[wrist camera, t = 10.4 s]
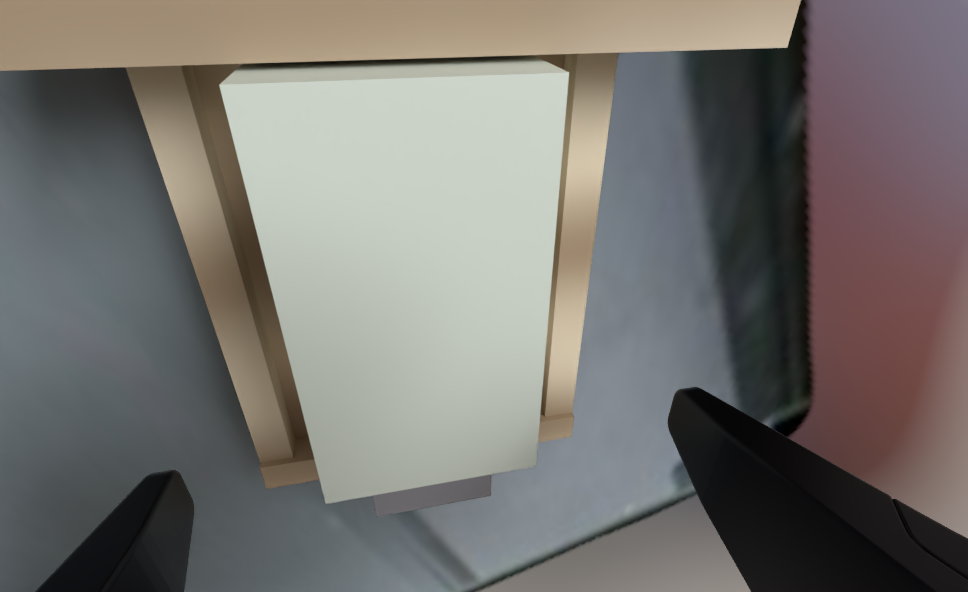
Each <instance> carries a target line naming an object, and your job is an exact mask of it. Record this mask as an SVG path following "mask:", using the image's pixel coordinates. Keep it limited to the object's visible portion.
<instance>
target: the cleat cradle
mask: <svg viewBox="0 0 968 592" xmlns="http://www.w3.org/2000/svg"><path fill="white" fill-rule="evenodd" d="M800 1H801V0H0V71H12V70H46V69H80V68H113V67H125V68H126V70H127V73H128V76H129V79H130V82H131V85H132V88H133V91H134V94H135V97H136V100H137V103H138V106H139V109H140V111H141V114H142V117H143V120H144V123H145V126H146V129H147V132H148V135H149V138H150V141H151V144H152V147H153V150H154V153H155V155H156V158H157V161H158V164H159V167H160V170H161V173H162V176H163V179H164V182H165V185H166V188H167V191H168V194H169V197H170V199H171V202H172V205H173V208H174V211H175V214H176V217H177V220H178V223H179V226H180V229H181V232H182V235H183V238H184V240H185V243H186V246H187V249H188V252H189V255H190V258H191V261H192V264H193V267H194V270H195V273H196V276H197V279H198V282H199V284H200V287H201V290H202V293H203V296H204V299H205V302H206V305H207V308H208V311H209V314H210V317H211V320H212V323H213V325H214V328H215V331H216V334H217V337H218V340H219V343H220V346H221V349H222V352H223V355H224V358H225V361H226V364H227V367H228V369H229V372H230V375H231V378H232V381H233V384H234V387H235V390H236V393H237V396H238V399H239V402H240V405H241V408H242V411H243V413H244V416H245V419H246V422H247V425H248V428H249V431H250V434H251V437H252V440H253V443H254V446H255V449H256V452H257V454H258V457H259V460H260V471H261V474H262V477H263V480H264V483H265V485H266V488H267V489H269V488H274V487H280V486H286V485H292V484H298V483H304V482H309V481H315V480H320V479H319V475H318V471H317V467H316V463H315V459H314V455H313V452H312V448H311V444H310V440H309V436H308V432H307V428H306V424H305V420H304V416H303V412H302V408H301V404H300V400H299V397H298V393H297V389H296V385H295V381H294V377H293V373H292V369H291V365H290V361H289V357H288V353H287V349H286V346H285V342H284V338H283V334H282V330H281V326H280V322H279V318H278V314H277V310H276V306H275V302H274V298H273V294H272V291H271V287H270V283H269V279H268V275H267V271H266V267H265V263H264V259H263V255H262V251H261V247H260V243H259V239H258V236H257V232H256V228H255V224H254V220H253V216H252V212H251V208H250V204H249V200H248V196H247V192H246V188H245V184H244V181H243V177H242V173H241V169H240V165H239V161H238V157H237V153H236V149H235V145H234V141H233V137H232V133H231V130H230V126H229V122H228V118H227V114H226V110H225V106H224V102H223V98H222V94H221V90H220V86H219V84H221V83H222V82H223V81H224V80H225V79H226V78H227V77H228V76H229V75H231V74H232V73H233V72H234V71H235V70H236V69H237V68H238V67H239V66H241V65H242V64H248V63H282V62H315V61H349V60H383V59H416V58H450V57H484V56H518V55H534V56H536V57H538V58H540V59H542V60H544V61H546V62H548V63H550V64H553V65H555V66H557V67H559V68H561V69H563V70H565V71H567V72H569V81H568V92H567V104H566V116H565V128H564V140H563V152H562V163H561V175H560V187H559V199H558V211H557V222H556V234H555V246H554V258H553V270H552V282H551V293H550V305H549V317H548V329H547V341H546V352H545V364H544V376H543V388H542V400H541V412H540V423H539V435H538V442H543V441H549V440H555V439H560V438H566V437H571V436H572V428H573V421H574V415H573V413H572V409H573V401H574V393H575V386H576V378H577V370H578V362H579V354H580V347H581V339H582V331H583V323H584V315H585V308H586V300H587V292H588V284H589V276H590V269H591V261H592V253H593V245H594V237H595V230H596V222H597V214H598V206H599V198H600V191H601V183H602V175H603V167H604V159H605V152H606V144H607V136H608V128H609V120H610V112H611V105H612V97H613V89H614V81H615V73H616V66H617V58H618V53H619V52H652V51H686V50H720V49H753V48H787V47H788V43H789V40H790V36H791V33H792V29H793V26H794V22H795V19H796V15H797V12H798V8H799V5H800Z"/></svg>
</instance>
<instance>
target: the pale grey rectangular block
mask: <svg viewBox="0 0 968 592" xmlns="http://www.w3.org/2000/svg"><path fill="white" fill-rule="evenodd" d="M568 81H569V72H567V71H565V70H563V69H561V68H559V67H557V66H555V65H553V64H550V63H548V62H546V61H544V60H542V59H540V58H538V57H536V56H534V55H518V56H484V57H450V58H416V59H383V60H349V61H315V62H282V63H248V64H242V65H241V66H239V67H238V68H237V69H236V70H235V71H234V72H233V73H232V74H231V75H229V76H228V77H227V78H226V79H225V80H224V81H223V82H222V83H221V84H219V86H220V90H221V94H222V98H223V102H224V106H225V110H226V114H227V118H228V122H229V126H230V130H231V133H232V137H233V141H234V145H235V149H236V153H237V157H238V161H239V165H240V169H241V173H242V177H243V181H244V184H245V188H246V192H247V196H248V200H249V204H250V208H251V212H252V216H253V220H254V224H255V228H256V232H257V236H258V239H259V243H260V247H261V251H262V255H263V259H264V263H265V267H266V271H267V275H268V279H269V283H270V287H271V291H272V294H273V298H274V302H275V306H276V310H277V314H278V318H279V322H280V326H281V330H282V334H283V338H284V342H285V346H286V349H287V353H288V357H289V361H290V365H291V369H292V373H293V377H294V381H295V385H296V389H297V393H298V397H299V400H300V404H301V408H302V412H303V416H304V420H305V424H306V428H307V432H308V436H309V440H310V444H311V448H312V452H313V455H314V459H315V463H316V467H317V471H318V475H319V479H320V483H321V487H322V491H323V495H324V499H325V503H326V504H328V503H334V502H340V501H345V500H351V499H356V498H362V497H367V496H373V500H374V506H375V511H376V517H379V516H384V515H390V514H395V513H401V512H406V511H411V510H417V509H422V508H427V507H433V506H438V505H443V504H449V503H454V502H459V501H465V500H470V499H475V498H481V497H486V496H491V474H496V473H501V472H507V471H513V470H518V469H524V468H529V467H535V466H536V459H537V447H538V435H539V423H540V412H541V400H542V388H543V376H544V364H545V352H546V341H547V329H548V317H549V305H550V293H551V282H552V270H553V258H554V246H555V234H556V222H557V211H558V199H559V187H560V175H561V163H562V152H563V140H564V128H565V116H566V104H567V92H568Z"/></svg>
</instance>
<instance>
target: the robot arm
mask: <svg viewBox="0 0 968 592" xmlns="http://www.w3.org/2000/svg"><path fill="white" fill-rule="evenodd" d="M668 428H669V431H670V434H671V436H672V438H673V441H674V443H675V445H676V447H677V450H678V452H679V454H680V456H681V459H682V461H683V463H684V466H685V468H686V470H687V472H688V475H689V477H690V479H691V482H692V484H693V486H694V488H695V491H696V493H697V495H698V497H699V499H700V501H701V503H702V505H703V507H704V509H705V510H706V512H707V514H708V516H709V518H710V519H711V521H712V523H713V525H714V526H715V528H716V530H717V532H718V534H719V535H720V537H721V539H722V541H723V542H724V544H725V546H726V548H727V550H728V551H729V553H730V555H731V557H732V558H733V560H734V562H735V563H736V566H737V567H738V569H739V571H740V573H741V574H742V576H743V578H744V580H745V581H746V583H747V585H748V587H749V589H750V590H751V592H968V538H966V537H964V536H962V535H960V534H958V533H956V532H954V531H952V530H951V529H949V528H947V527H945V526H943V525H942V524H940V523H938V522H936V521H934V520H932V519H930V518H929V517H927V516H925V515H923V514H921V513H920V512H918V511H916V510H914V509H913V508H911V507H909V506H907V505H906V504H904V503H902V502H900V501H898V500H897V499H892V498H891V497H890V496H889V495H888V494H886V493H884V492H882V491H880V490H879V489H877V488H875V487H874V486H872V485H870V484H868V483H866V482H865V481H863V480H861V479H859V478H858V477H856V476H854V475H852V474H851V473H849V472H847V471H845V470H844V469H842V468H840V467H838V466H837V465H835V464H833V463H831V462H829V461H828V460H826V459H824V458H822V457H821V456H819V455H817V454H815V453H814V452H811V451H810V450H808V449H807V448H805V447H803V446H801V445H799V444H798V443H796V442H794V441H792V440H791V439H789V438H787V437H785V436H784V435H782V434H780V433H778V432H777V431H775V430H773V429H771V428H770V427H768V426H766V425H764V424H762V423H761V422H759V421H757V420H755V419H754V418H752V417H750V416H748V415H747V414H745V413H743V412H741V411H740V410H738V409H736V408H734V407H732V406H731V405H729V404H727V403H725V402H724V401H722V400H720V399H718V398H717V397H715V396H713V395H711V394H710V393H708V392H706V391H704V390H703V389H700V388H698V387H691V388H685V389H679V390H677V392H676V393H675V395H674V398H673V402H672V406H671V409H670V413H669V417H668ZM193 519H194V504H193V500H192V498H191V496H190V493H189V491H188V489H187V487H186V485H185V483H184V481H183V479H182V477H181V475H180V473H179V472H178V471H176V470H170V471H163V472H157V473H152V474H149V475H148V476H146V477H145V478H144V479H143V480H142V481H141V482H140V483H139V484H138V485H137V486H136V487H135V488H134V489H133V490H132V491H131V493H130V494H129V495H128V496H127V497H126V498H125V499H124V500H123V501H122V502H121V503H120V504H119V505H118V506H117V507H116V508H115V509H114V510H113V511H112V512H111V513H110V514H109V515H108V516H107V517H106V519H105V520H104V521H103V522H102V523H101V524H100V525H99V526H98V527H97V528H96V529H95V530H94V531H93V532H92V533H91V534H90V535H89V536H88V537H87V538H86V539H85V540H84V541H83V542H82V543H81V545H80V546H79V547H78V548H77V549H76V550H75V551H74V552H73V553H72V554H71V555H70V556H69V557H68V558H67V559H66V560H65V561H64V562H63V563H62V564H61V565H60V566H59V567H58V568H57V569H56V571H55V572H54V573H53V574H52V575H51V576H50V577H49V578H48V579H47V580H46V581H45V582H44V583H43V584H42V585H41V586H40V587H39V588H38V589H37V590H36V591H35V592H184V588H185V581H186V573H187V565H188V557H189V550H190V542H191V534H192V526H193Z"/></svg>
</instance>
